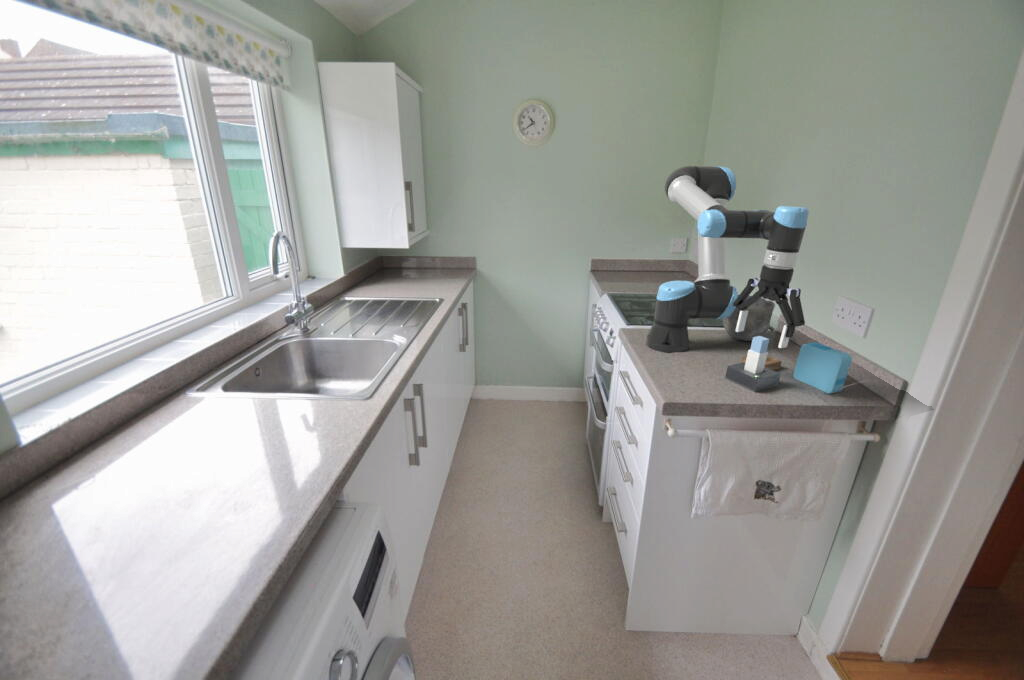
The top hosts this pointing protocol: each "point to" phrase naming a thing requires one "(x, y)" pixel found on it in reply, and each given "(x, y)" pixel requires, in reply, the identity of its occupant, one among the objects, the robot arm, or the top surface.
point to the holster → (768, 362)
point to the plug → (757, 355)
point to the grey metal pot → (751, 320)
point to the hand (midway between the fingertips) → (759, 338)
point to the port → (752, 377)
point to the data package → (822, 367)
